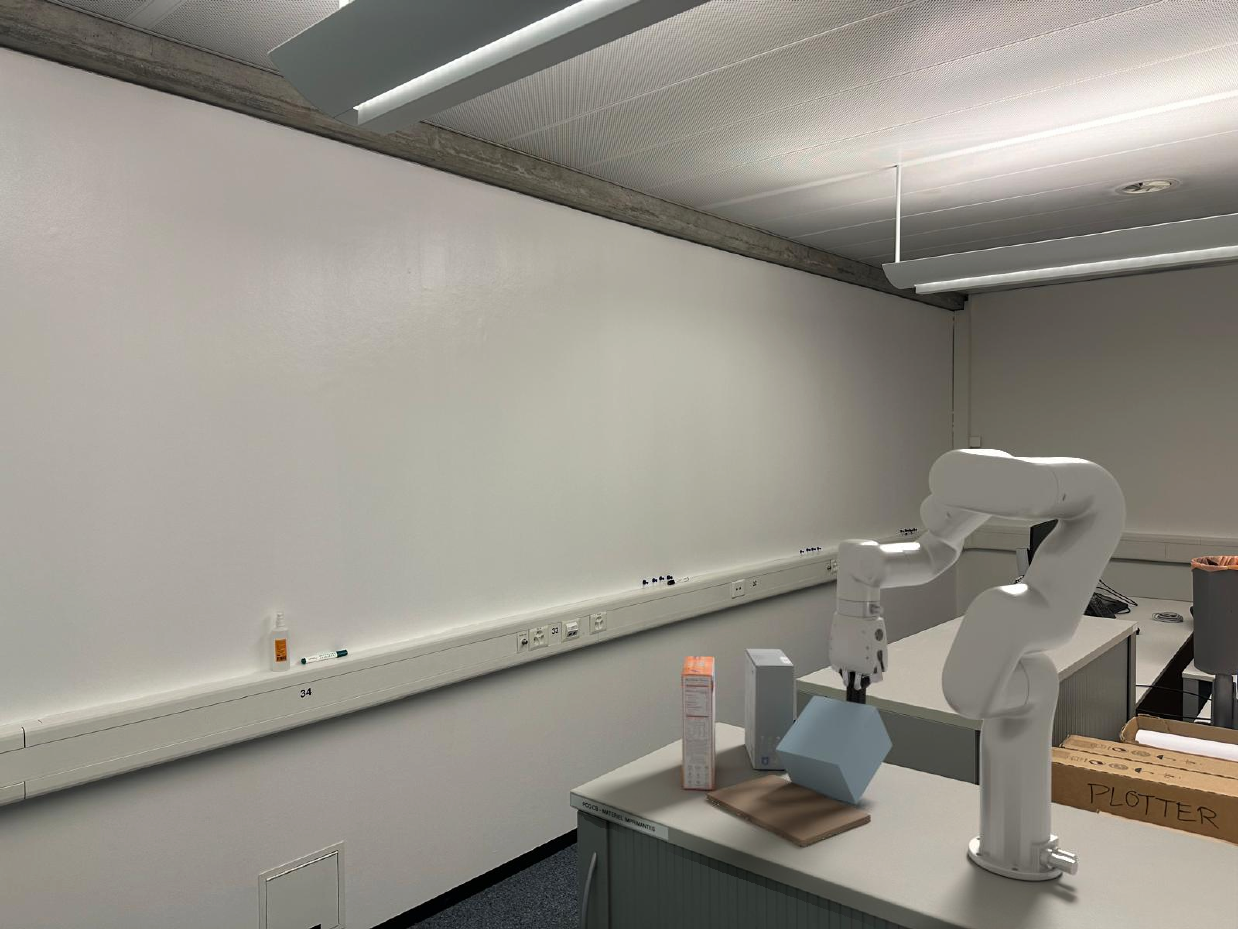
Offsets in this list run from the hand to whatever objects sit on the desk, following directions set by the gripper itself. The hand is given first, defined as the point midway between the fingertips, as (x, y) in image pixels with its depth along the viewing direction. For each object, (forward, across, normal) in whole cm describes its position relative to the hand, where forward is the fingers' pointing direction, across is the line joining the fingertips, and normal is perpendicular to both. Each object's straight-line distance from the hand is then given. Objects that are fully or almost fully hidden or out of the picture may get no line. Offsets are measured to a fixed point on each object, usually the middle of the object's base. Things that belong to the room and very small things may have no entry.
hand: (855, 708), depth 154 cm
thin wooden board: (+14, -2, +19) cm, 23 cm away
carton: (+10, 0, +4) cm, 10 cm away
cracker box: (+14, +18, +21) cm, 32 cm away
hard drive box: (+14, +19, +3) cm, 24 cm away
